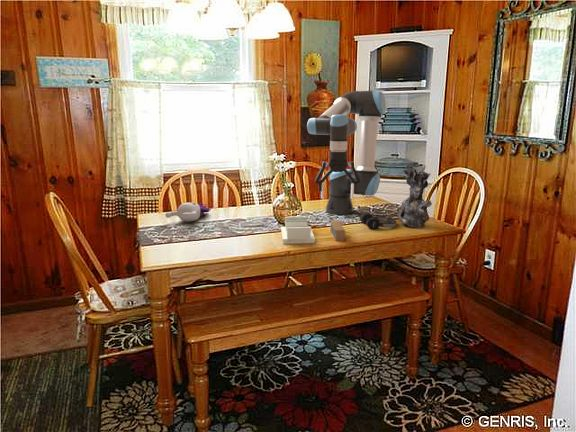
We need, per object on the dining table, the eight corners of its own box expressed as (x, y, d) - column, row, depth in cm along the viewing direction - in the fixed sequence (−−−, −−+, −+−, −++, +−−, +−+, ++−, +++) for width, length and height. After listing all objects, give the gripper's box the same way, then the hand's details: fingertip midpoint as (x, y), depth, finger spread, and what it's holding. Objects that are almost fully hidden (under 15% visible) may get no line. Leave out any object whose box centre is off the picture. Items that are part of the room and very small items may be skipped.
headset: (354, 203, 221) (391, 206, 224) (351, 221, 223) (388, 224, 226) (363, 209, 208) (402, 212, 211) (360, 229, 210) (399, 231, 214)
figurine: (220, 201, 238) (188, 203, 210) (220, 219, 239) (189, 224, 211) (195, 201, 244) (161, 203, 216) (195, 218, 245) (161, 223, 217)
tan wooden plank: (330, 231, 210) (330, 221, 208) (338, 231, 210) (339, 220, 209) (335, 241, 195) (335, 230, 194) (344, 240, 195) (344, 230, 194)
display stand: (281, 230, 209) (280, 216, 207) (310, 230, 210) (310, 216, 208) (282, 243, 191) (282, 228, 189) (315, 243, 192) (315, 227, 190)
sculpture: (415, 231, 208) (420, 168, 201) (392, 223, 221) (396, 164, 213) (435, 226, 216) (441, 165, 208) (412, 219, 228) (416, 162, 220)
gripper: (310, 151, 188) (310, 200, 193) (368, 151, 189) (366, 199, 195) (309, 149, 195) (308, 196, 201) (364, 149, 197) (362, 196, 202)
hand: (337, 198), depth 198 cm, fingers open, 13 cm apart
